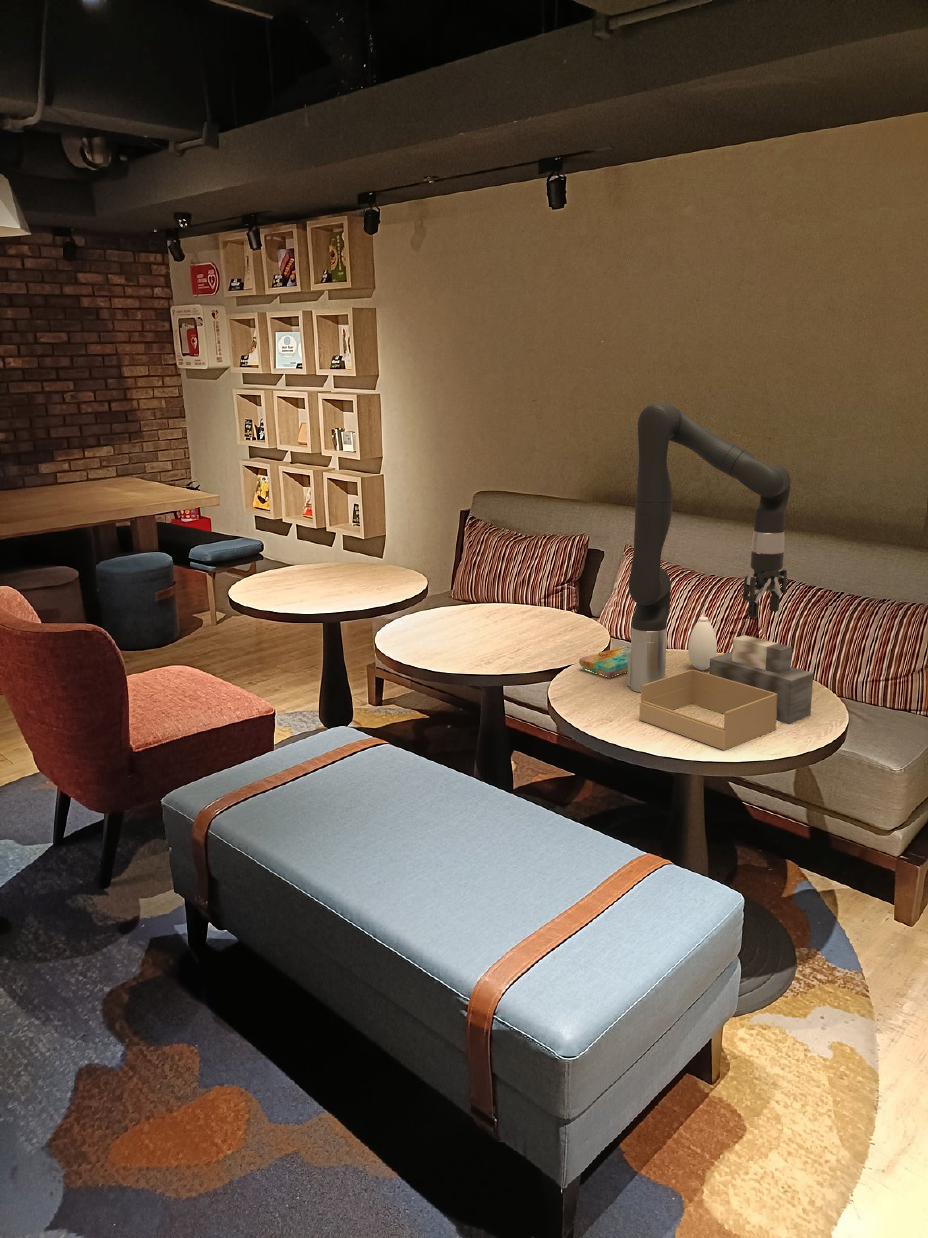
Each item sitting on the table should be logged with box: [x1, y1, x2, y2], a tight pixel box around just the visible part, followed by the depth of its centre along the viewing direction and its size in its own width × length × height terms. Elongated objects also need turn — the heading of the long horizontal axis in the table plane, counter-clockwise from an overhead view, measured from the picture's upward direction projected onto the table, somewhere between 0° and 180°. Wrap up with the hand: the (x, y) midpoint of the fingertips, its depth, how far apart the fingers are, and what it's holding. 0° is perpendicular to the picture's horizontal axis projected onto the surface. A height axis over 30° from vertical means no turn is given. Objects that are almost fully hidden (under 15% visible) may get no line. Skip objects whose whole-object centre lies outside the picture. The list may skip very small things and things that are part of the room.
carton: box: [639, 669, 778, 751], centre depth 222 cm, size 25×20×9 cm
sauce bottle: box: [687, 609, 718, 671], centre depth 263 cm, size 8×8×18 cm
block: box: [731, 635, 793, 674], centre depth 231 cm, size 14×4×6 cm, turn 37°
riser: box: [708, 651, 814, 725], centre depth 233 cm, size 24×9×11 cm, turn 37°
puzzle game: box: [578, 645, 631, 678], centre depth 268 cm, size 12×5×20 cm
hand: (763, 614), depth 228 cm, fingers open, 8 cm apart
